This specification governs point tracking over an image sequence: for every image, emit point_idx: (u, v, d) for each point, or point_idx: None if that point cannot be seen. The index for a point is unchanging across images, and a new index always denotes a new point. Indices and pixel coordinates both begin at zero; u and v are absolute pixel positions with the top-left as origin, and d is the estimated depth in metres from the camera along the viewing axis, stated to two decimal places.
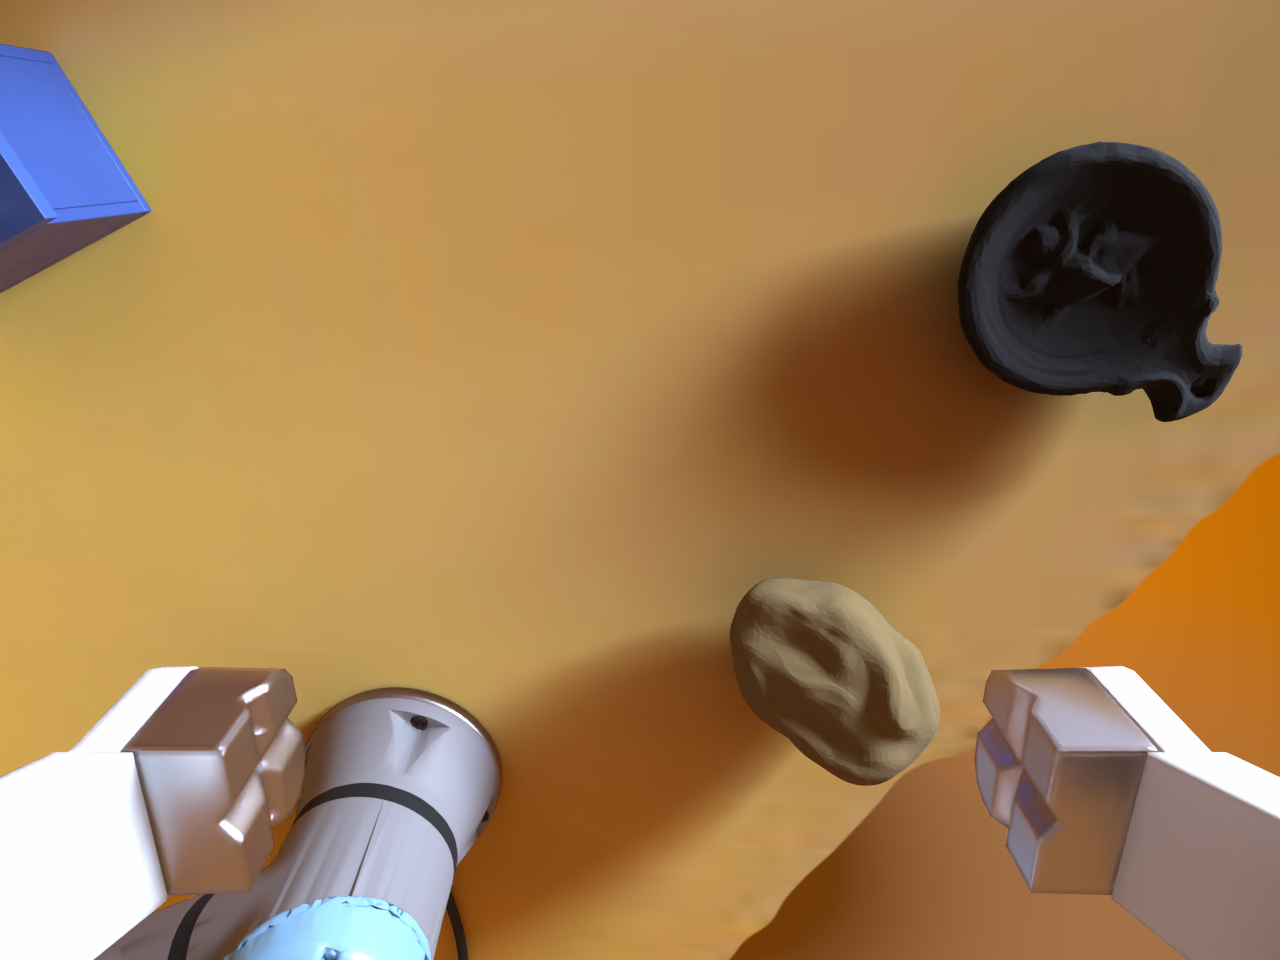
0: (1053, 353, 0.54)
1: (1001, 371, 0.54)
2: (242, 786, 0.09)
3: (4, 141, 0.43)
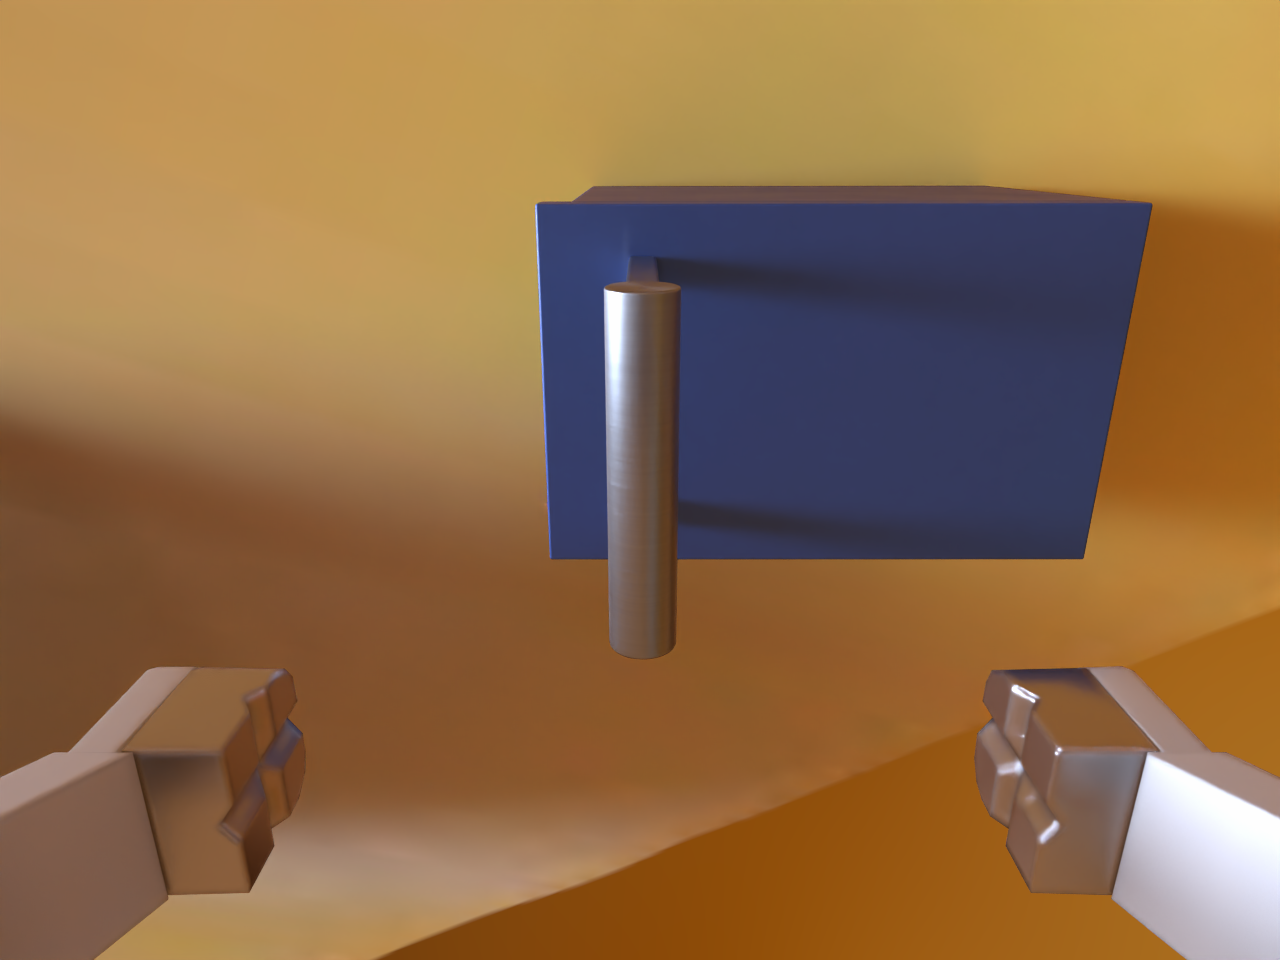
0: None
1: None
2: (242, 786, 0.09)
3: None
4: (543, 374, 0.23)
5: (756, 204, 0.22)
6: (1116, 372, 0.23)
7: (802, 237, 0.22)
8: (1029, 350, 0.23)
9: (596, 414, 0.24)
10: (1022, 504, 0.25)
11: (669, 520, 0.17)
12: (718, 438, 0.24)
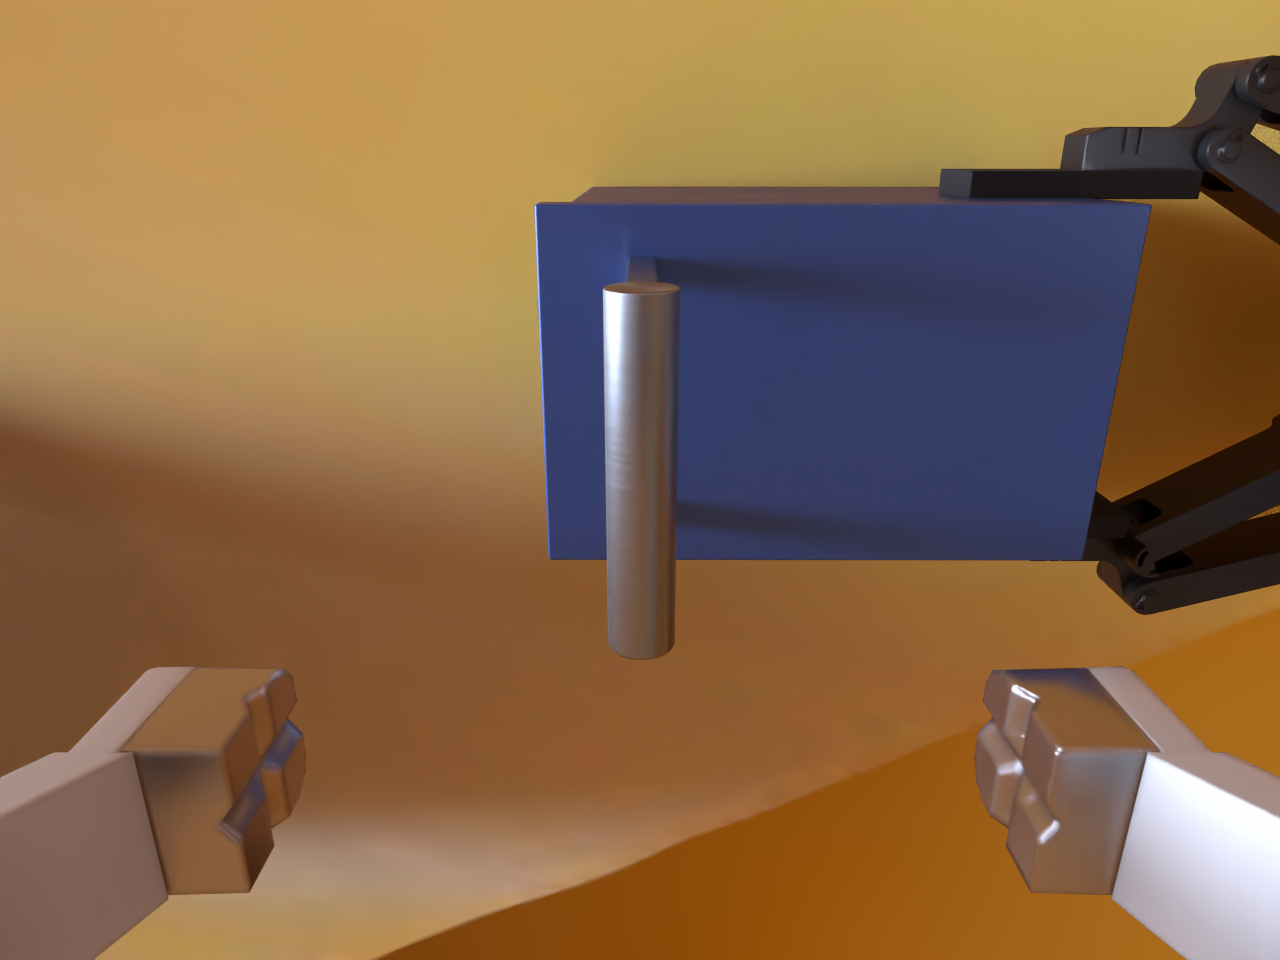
0: None
1: None
2: (242, 786, 0.09)
3: None
4: (542, 374, 0.23)
5: (755, 205, 0.22)
6: (1116, 373, 0.23)
7: (801, 238, 0.22)
8: (1027, 351, 0.23)
9: (595, 414, 0.24)
10: (1021, 505, 0.25)
11: (668, 520, 0.17)
12: (717, 439, 0.24)
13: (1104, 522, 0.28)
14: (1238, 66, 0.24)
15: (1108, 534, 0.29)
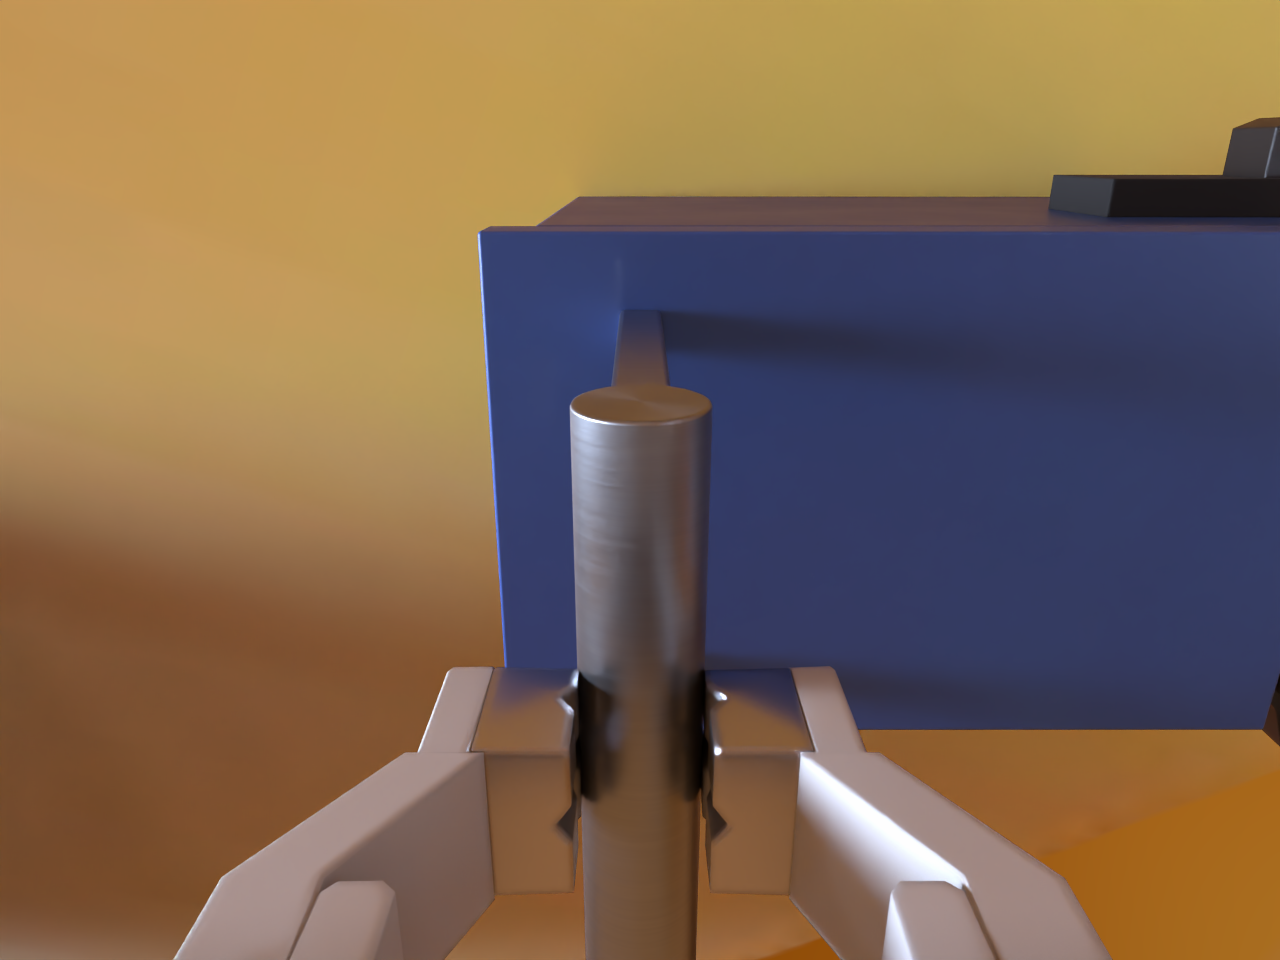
0: None
1: None
2: (573, 786, 0.09)
3: None
4: (494, 479, 0.16)
5: (813, 232, 0.14)
6: None
7: (881, 282, 0.15)
8: (1209, 445, 0.16)
9: (574, 534, 0.16)
10: (1183, 657, 0.17)
11: (688, 796, 0.10)
12: (750, 568, 0.17)
13: None
14: None
15: None
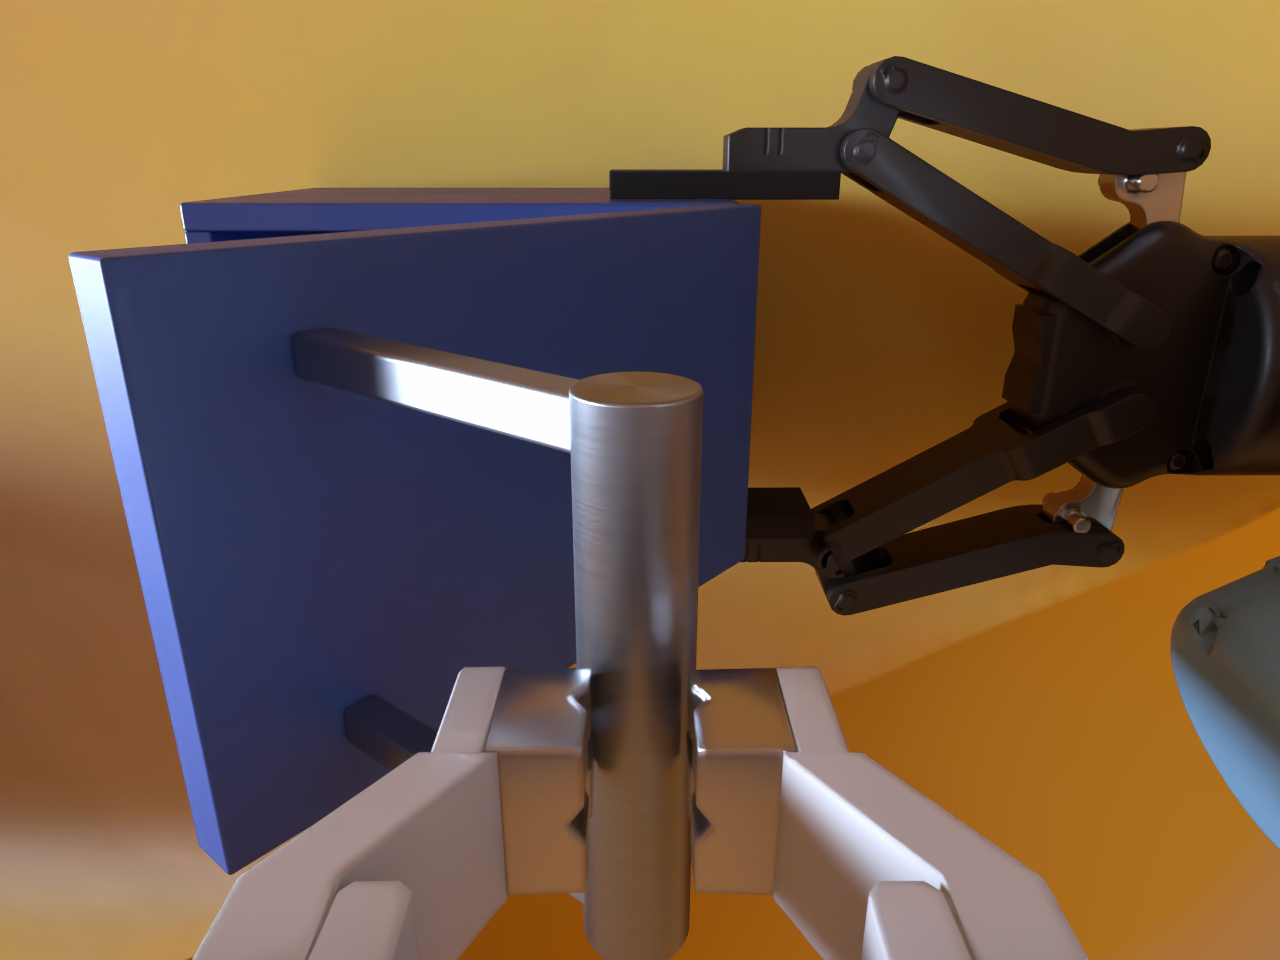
0: None
1: None
2: (586, 786, 0.09)
3: (133, 533, 0.13)
4: (167, 574, 0.12)
5: (450, 231, 0.15)
6: (752, 373, 0.23)
7: (507, 272, 0.16)
8: (699, 367, 0.21)
9: (273, 605, 0.14)
10: (706, 526, 0.23)
11: None
12: (444, 572, 0.16)
13: (789, 523, 0.28)
14: (872, 67, 0.24)
15: (795, 535, 0.29)
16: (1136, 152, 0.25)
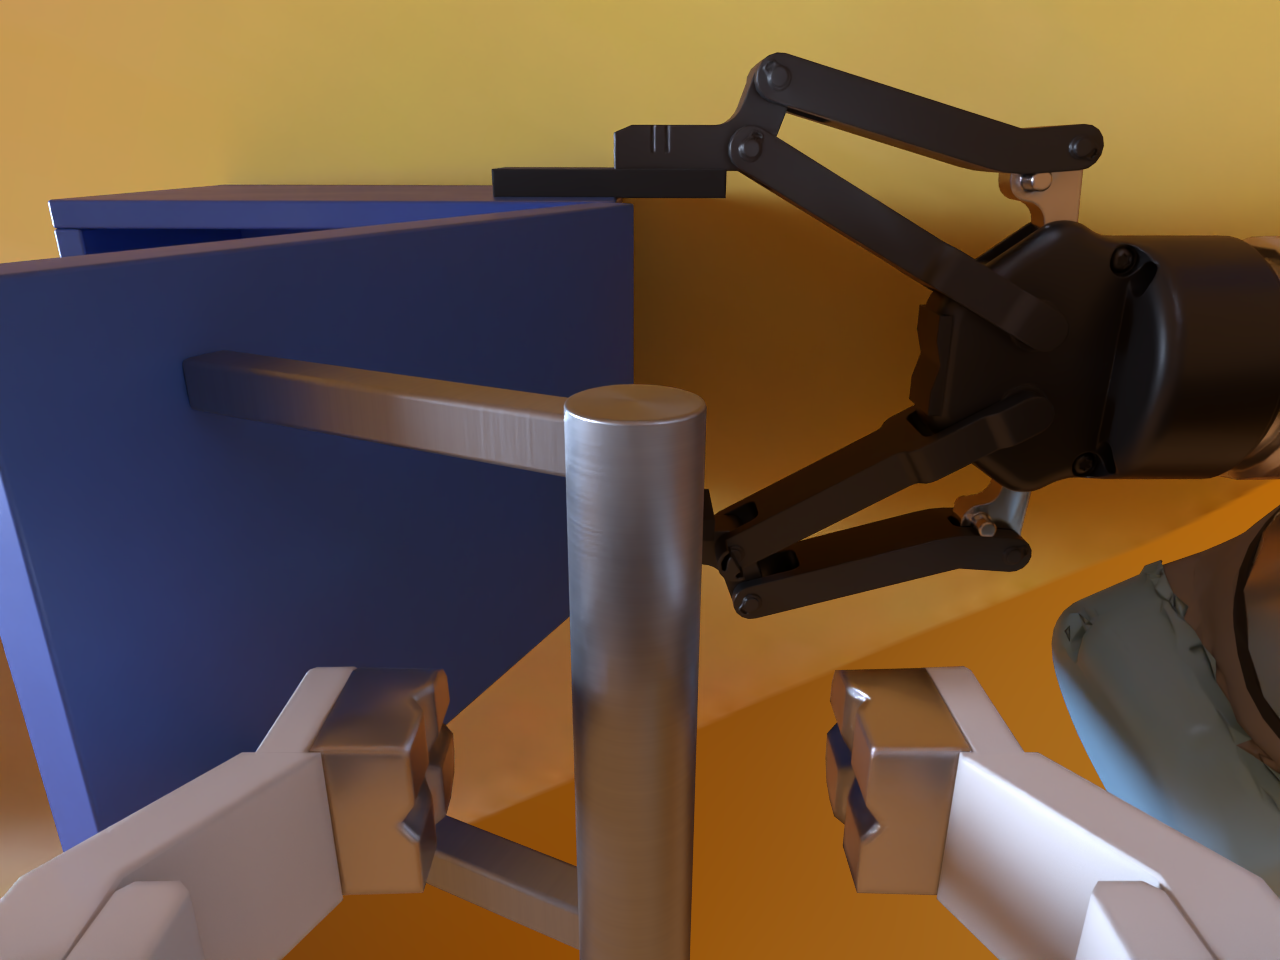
0: None
1: None
2: (419, 786, 0.09)
3: (1, 609, 0.11)
4: (53, 653, 0.10)
5: (345, 237, 0.13)
6: (632, 373, 0.23)
7: (404, 280, 0.15)
8: (587, 371, 0.21)
9: (176, 673, 0.12)
10: None
11: None
12: (356, 610, 0.15)
13: None
14: (758, 63, 0.24)
15: None
16: (1027, 150, 0.24)
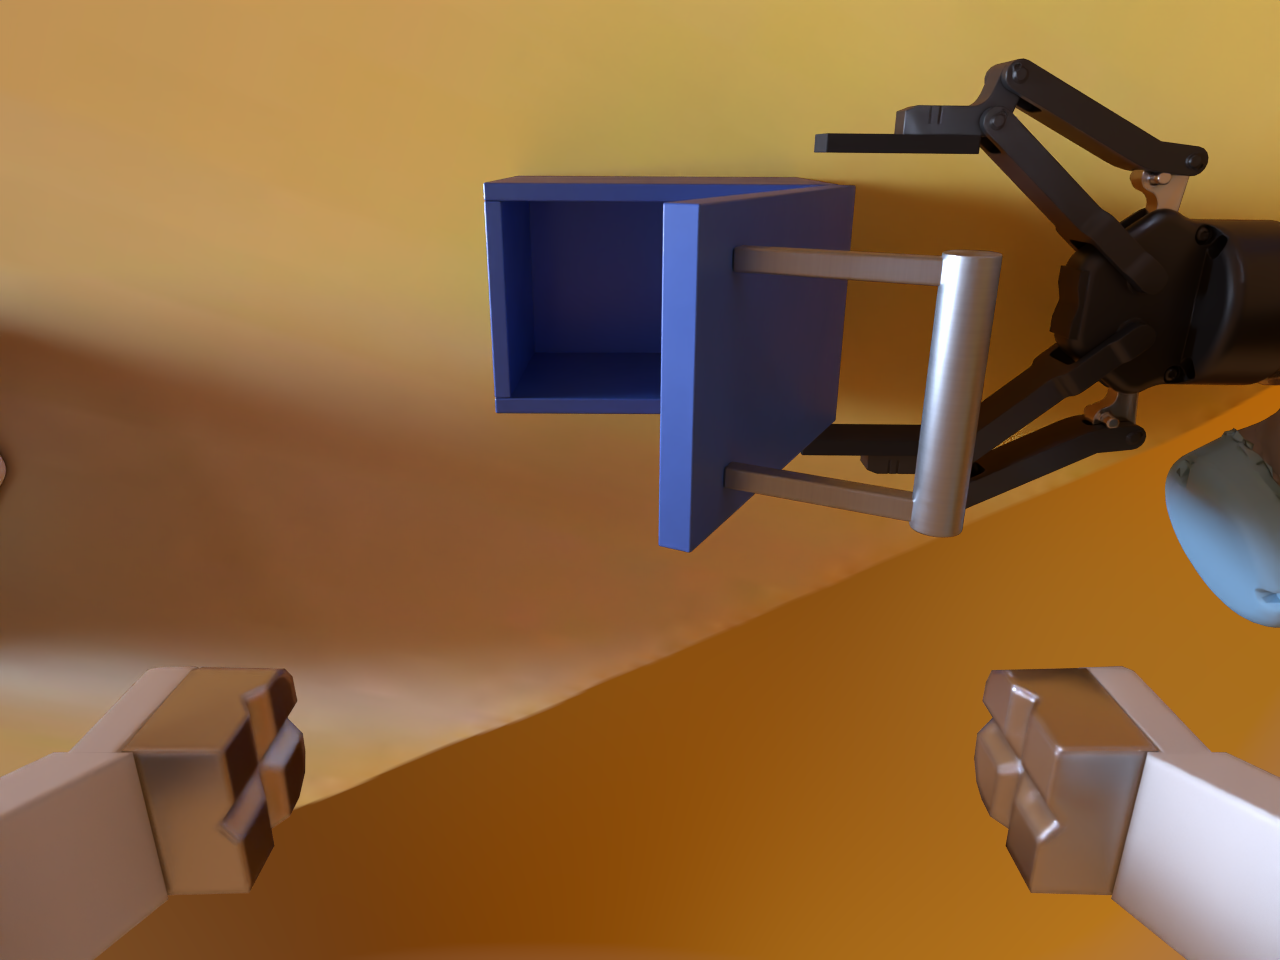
0: None
1: None
2: (242, 786, 0.09)
3: (668, 353, 0.24)
4: (695, 370, 0.24)
5: (772, 195, 0.27)
6: (845, 294, 0.37)
7: (784, 220, 0.28)
8: (831, 287, 0.34)
9: (715, 397, 0.25)
10: (825, 393, 0.36)
11: None
12: (754, 394, 0.28)
13: None
14: (1005, 63, 0.37)
15: None
16: (1160, 156, 0.37)
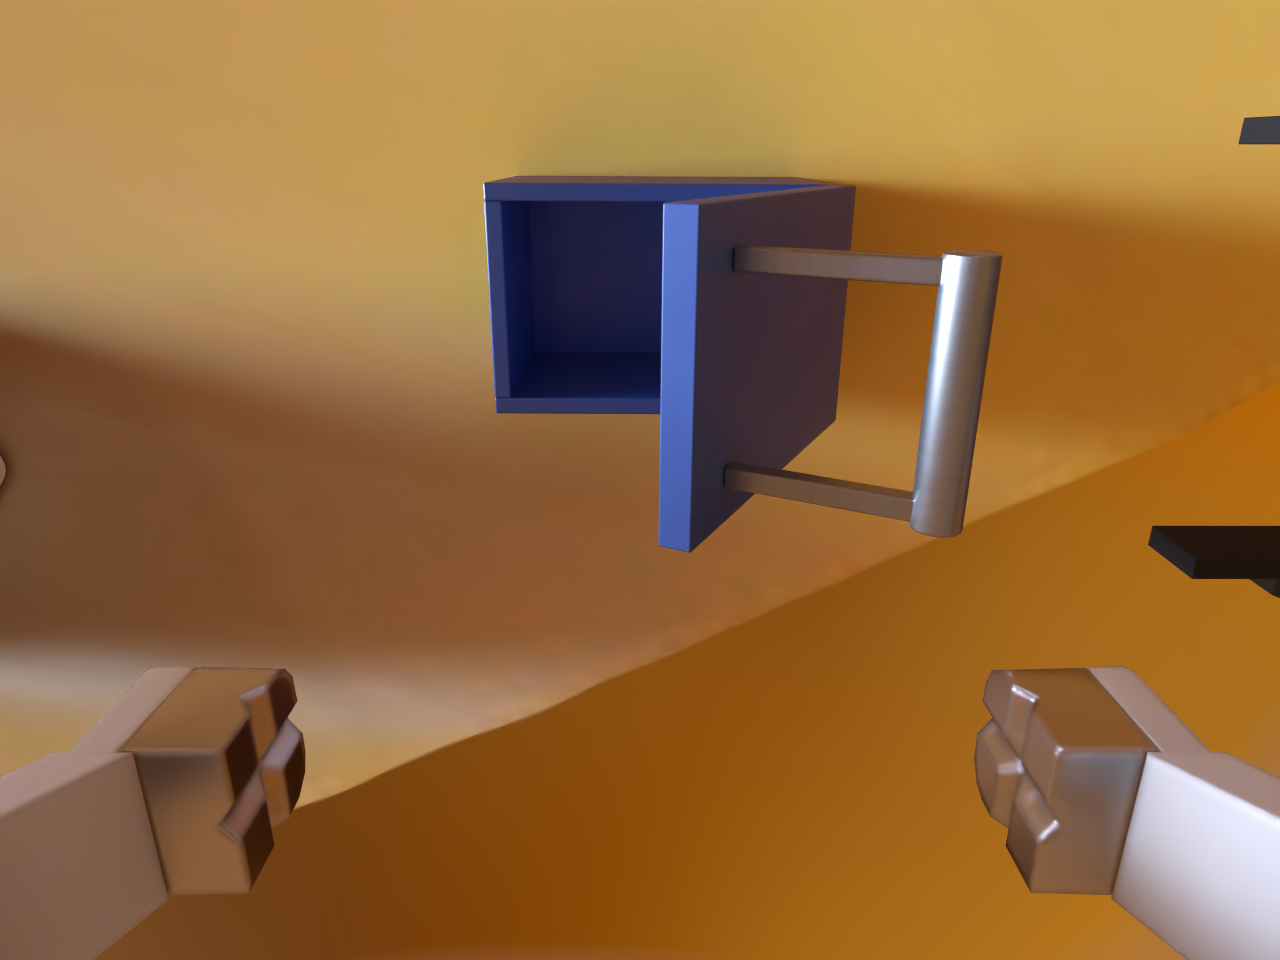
0: None
1: None
2: (242, 786, 0.09)
3: (668, 353, 0.24)
4: (695, 370, 0.24)
5: (772, 195, 0.27)
6: (845, 294, 0.37)
7: (784, 220, 0.28)
8: (831, 287, 0.34)
9: (715, 397, 0.25)
10: (825, 393, 0.36)
11: None
12: (754, 394, 0.28)
13: None
14: None
15: None
16: None
